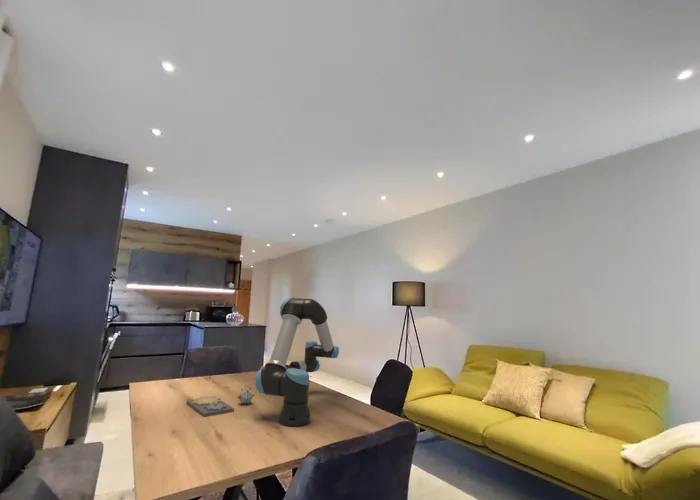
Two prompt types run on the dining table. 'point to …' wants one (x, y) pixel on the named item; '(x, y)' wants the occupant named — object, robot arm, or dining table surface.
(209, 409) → the gear board
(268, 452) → the dining table surface
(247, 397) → the game die
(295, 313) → the robot arm
